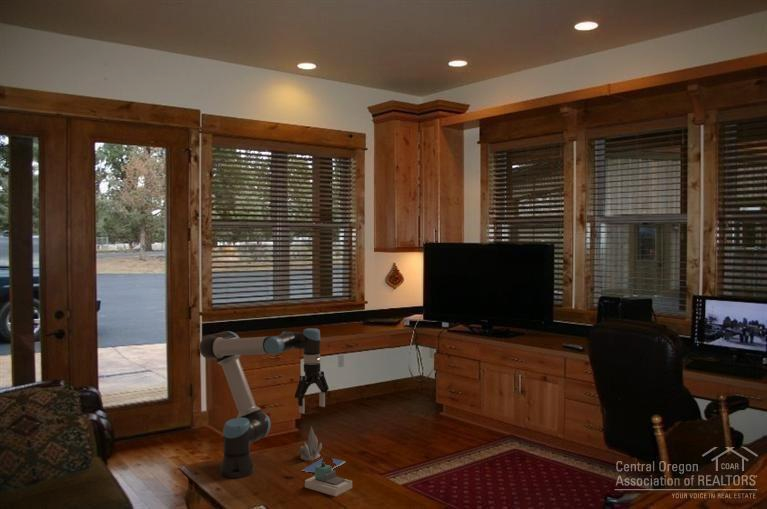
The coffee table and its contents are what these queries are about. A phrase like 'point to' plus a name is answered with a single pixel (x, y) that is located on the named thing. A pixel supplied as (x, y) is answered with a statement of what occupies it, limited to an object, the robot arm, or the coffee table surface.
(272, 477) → the coffee table surface
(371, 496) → the coffee table surface
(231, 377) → the robot arm
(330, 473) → the shutter
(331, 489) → the grey tray
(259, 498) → the coffee table surface
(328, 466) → the plug
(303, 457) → the crystal
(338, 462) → the blue flat panel
